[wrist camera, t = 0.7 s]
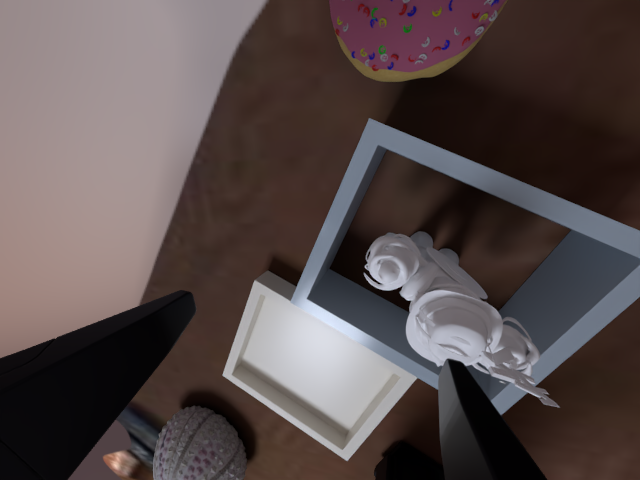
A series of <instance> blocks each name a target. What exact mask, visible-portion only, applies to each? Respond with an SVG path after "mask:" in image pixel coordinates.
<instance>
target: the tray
mask: <svg viewBox="0 0 640 480" xmlns="http://www.w3.org/2000/svg"><path fill="white" fill-rule="evenodd" d="M295 290H296V286H294V285H292V284H291V283H289V282H287V281H286V280H284V279H282V278H280V277H279V276H277V275H275V274H273V273H272V272H270V271H268V270H267V271H266V272H265V273H263V274H262V275H261V276H259V277H258V278H257V279H256V280H255V281H254V284H253V287H252V290H251V293H250V296H249V299H248V302H247V305H246V308H245V310H244V313H243V316H242V319H241V322H240V325H239V328H238V331H237V334H236V337H235V340H234V343H233V346H232V349H231V352H230V355H229V358H228V361H227V364H226V367H225V369H224V372H223V376H224V377H226V378H227V379H228V380H230V381H231V382H233V383H234V384H236V385H237V386H239V387H240V388H242V389H243V390H244V391H246V392H247V393H249V394H250V395H252V396H253V397H255V398H256V399H258V400H259V401H260V402H262V403H263V404H265V405H266V406H268V407H269V408H271V409H272V410H274V411H275V412H276V413H278V414H279V415H281V416H282V417H284V418H285V419H287V420H288V421H290V422H291V423H292V424H294V425H295V426H297V427H298V428H300V429H301V430H303V431H304V432H306V433H307V434H309V435H310V436H311V437H313V438H314V439H316V440H317V441H319V442H320V443H322V444H323V445H325V446H326V447H327V448H329V449H330V450H332V451H333V452H335V453H336V454H338V455H339V456H341V457H342V458H343V459H345V460H346V461H348V460H349V458H350V457H351V456H352V455H353V454H354V452H355V451H356V450H357V449H358V448H359V446H360V445H361V444H362V443H363V442H364V441H365V439H366V438H367V437H368V436H369V435H370V433H371V432H372V431H373V430H374V429H375V427H376V426H377V425H378V424H379V423H380V421H381V420H382V419H383V418H384V417H385V416H386V414H387V413H388V412H389V411H390V410H391V408H392V407H393V406H394V405H395V404H396V402H397V401H398V400H399V399H400V398H401V397H402V395H403V394H404V393H405V392H406V391H407V389H408V388H409V387H410V386H411V385H412V383H413V382H414V381H415V380H416V379H417V377H416V376H414V375H412V374H410V373H409V372H407V371H405V370H404V369H402V368H400V367H399V366H397V365H395V364H394V363H392V362H390V361H389V360H387V359H385V358H383V357H382V356H380V355H378V354H377V353H375V352H373V351H372V350H370V349H368V348H367V347H365V346H363V345H361V344H360V343H358V342H356V341H355V340H353V339H351V338H350V337H348V336H346V335H345V334H343V333H341V332H339V331H338V330H336V329H334V328H333V327H331V326H329V325H328V324H326V323H324V322H323V321H321V320H319V319H317V318H316V317H314V316H312V315H311V314H309V313H307V312H306V311H304V310H302V309H301V308H299V307H297V306H295V305H294V304H292V303H290V301H291V299H292V297H293V294H294V292H295Z"/></svg>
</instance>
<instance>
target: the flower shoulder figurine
mask: <svg viewBox="0 0 640 480" xmlns="http://www.w3.org/2000/svg"><path fill="white" fill-rule="evenodd" d="M399 237H403V238H399ZM432 247H433V240H432V238H431V236H430V235H429V234H427V233H425V232H422V231H418V232H416V233H414V234H413V235H412V236H411V237H410V238H409V237H408V236H406V235H403V234H394V233H387V234H386V235H384V236H381V237H379V238H377V239H376V240H375V241H374V242H373V243H372V245H371V246H370V248H369V250H368V251H367V254H366V260H367V262H368V263H367V264H366V265H365V268H366V269H367V270H369V272H370V274H371V275H372V277H373V278H374V279H376V280H377V281H378V282H380V283H381V284H377V283H376V282H373V281H372V280H371V279H370V278H369V277H368V276H367V275H366V274H365V273H364V276H365V278H366V280H367V281H368V282H369V283H370V284H371V285H373V286H374V287H376V288H377V289H381V290H388V291H390V290H394V289H397V288H399V287H401V286H403V287H402V290H401V291H400V292H399V293H400V294H401V296H402V297H404V298H405V299H406V300H408V301H411V303H410V307H409V311H410V313H409V316H408V319H407V323H406V336H407V339H408V342H409V344H410V345H411V347H412V348H413V349H414V350H415V351H416V352H417V353H418V354H420V355H421V356H422V357H424V358H426V359H428V360H430V361H432V362H435V363H436V364H437V366H438V367H439V366H440V365H441V366H443V365H444V362H445V360H446V359H447V358H450V359H454V360H458V361H461V362H462V363H464V365H465V366H468V365H473V366H474V367H475V368H476V369H478V370H480V371H482V372H484V373H487V374H491V376H493V377H496V378H499V379H502V380H505V381H508V382H511V383H514V384H515V386H516V387H518V388H520V389H522V390H524V391H526V392H528V393H530V394H532V395H534V396H536V397H539V399H540V398H541V397H543V398H544V399H546V400H544V399H540V400H541V402H542V403H543V404H545V405H550V406H555V407H559V406H558V405H557V403H556V402H554V401H553V400H551V399H550V398H549V397H547V396H546V395H544V394H548V393H547V391H546V390H545V389H541V388H537V387H534V386H533V385H532V384H535V381H534V379H533V378H532V377H530V376H531V375H532V372H533V369H532V366H533V365H534V364H535V363H536V362H537V361H538V360H539V359H540V353H539V350H538V349H537V347H536V346H535V345H534V344H533V343H532V342H531V341H532V339H531V338H530V336H529V334H528V333H527V331H526V330H525V329H524V328H523V326H522V325H521V324H520V323H519V322H518V321H517V320H516V319H514V318H512V317H505V318H504V319H503V320H502V318H501V316H500V314H499V313H498V311H497V310H496V309H495V308H494V307H493V306H491V305H490V304H488V303H487V302H486V301H482V300H481V299H480V298H483V299H487V298H488V296H487V294H486V293H485V291H484V290H483V289H482V287H481V286H480V285H479V284H478V283H477V282H476V281H475V280H474V279H473V278H472V277H471V276H470V275H469V274H467V273H466V272H465V271H464V270H463V269H462V268H461V267H459V266H458V265H459V258H458V255H457V254H456V253H455V252H454V251H452V250H450V249H447V248H446V249H440V250H439V251H437V250H436V249H434V248H432ZM369 251H370V256H369V257H368V259H367V255H368V253H369ZM366 266H368V267H366ZM479 297H480V298H479ZM507 320H508V321H511V322H514V323H515V324H517V325H518V326H519V327H520V328H521V329H522V330H523V331H524V332H525V334H526V335H527V336H528V338H529V339H528V338H527V337H524V336H523V335H522V334H521V333H520V332H519V331H518V330H516V329H514V328H512V327H510V326H509V325H504V324H503V322H504V321H507ZM528 351H529V352H528ZM478 362H479V363H481V364H482V365H483V366H485V367H486V368H487V369H488V370H489V372H490V373H489V372H488V371H486V370H484V369H483V368H481V367H480V366H478V365H477V363H478ZM525 368H526V369H525ZM521 369H525V370H524V371H522V372H520V371H517V370H521ZM499 382H501V383H504V382H502V381H499ZM504 384H506V383H504ZM543 393H544V394H543ZM559 408H560V407H559Z"/></svg>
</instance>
